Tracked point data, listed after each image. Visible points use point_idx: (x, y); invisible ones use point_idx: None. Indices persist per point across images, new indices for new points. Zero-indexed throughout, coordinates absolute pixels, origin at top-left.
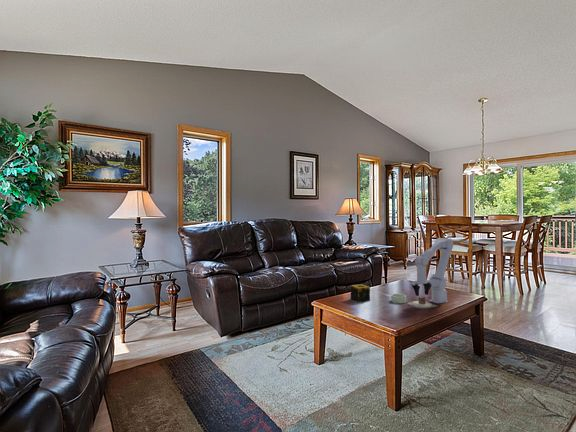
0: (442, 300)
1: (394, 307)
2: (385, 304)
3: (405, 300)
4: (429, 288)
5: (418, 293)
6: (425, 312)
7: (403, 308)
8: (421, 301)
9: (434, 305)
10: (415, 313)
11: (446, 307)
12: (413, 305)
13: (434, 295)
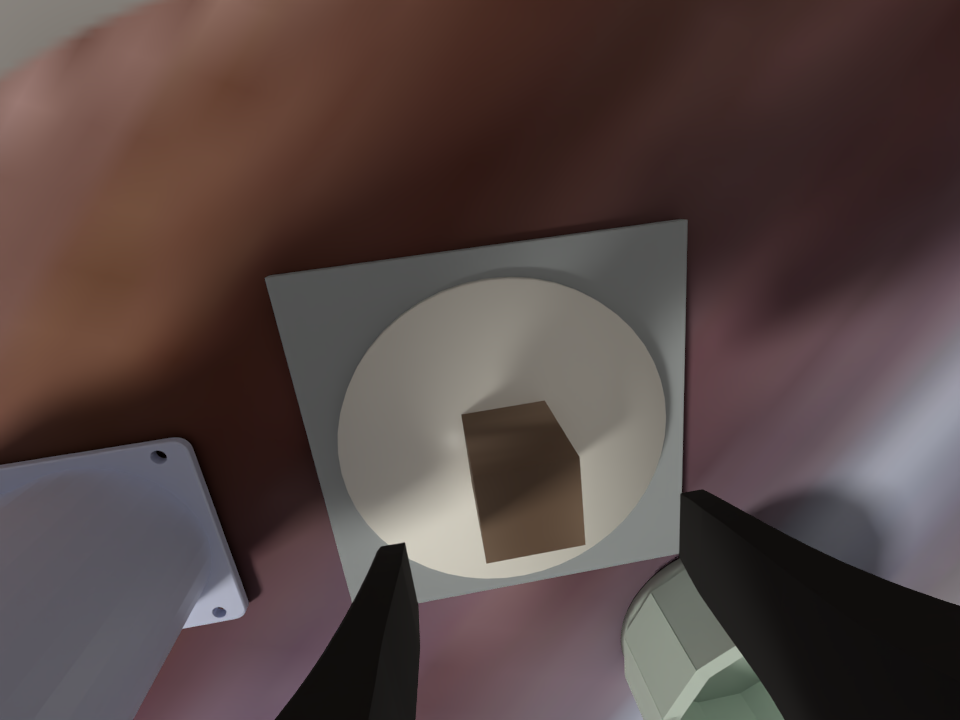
0: (14, 496)
1: (953, 417)
2: (940, 558)
3: (694, 592)
4: (308, 703)
5: (742, 521)
6: (747, 14)
7: (886, 343)
8: (559, 431)
9: (325, 330)
10: (946, 22)
11: (124, 193)
12: (677, 413)
13: (127, 613)
